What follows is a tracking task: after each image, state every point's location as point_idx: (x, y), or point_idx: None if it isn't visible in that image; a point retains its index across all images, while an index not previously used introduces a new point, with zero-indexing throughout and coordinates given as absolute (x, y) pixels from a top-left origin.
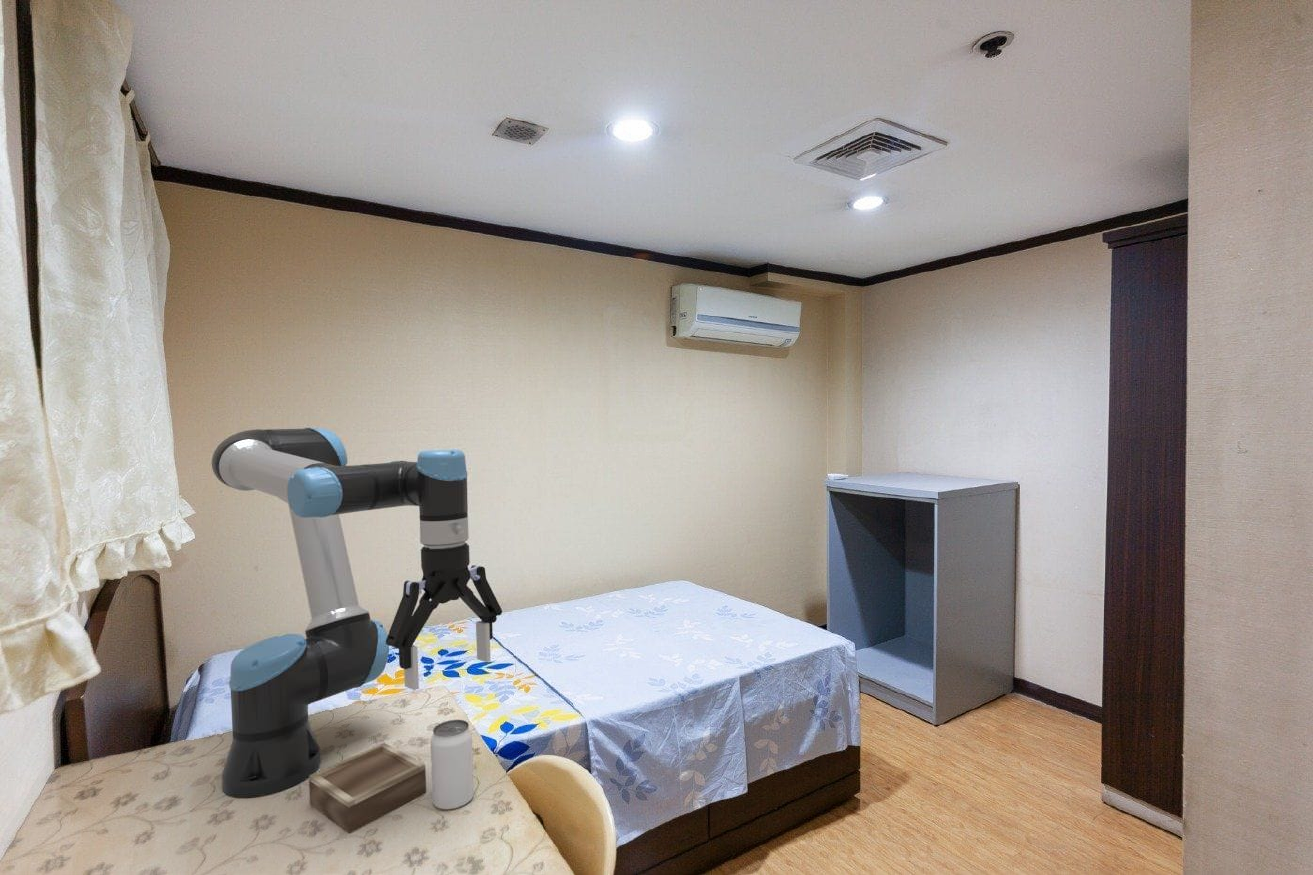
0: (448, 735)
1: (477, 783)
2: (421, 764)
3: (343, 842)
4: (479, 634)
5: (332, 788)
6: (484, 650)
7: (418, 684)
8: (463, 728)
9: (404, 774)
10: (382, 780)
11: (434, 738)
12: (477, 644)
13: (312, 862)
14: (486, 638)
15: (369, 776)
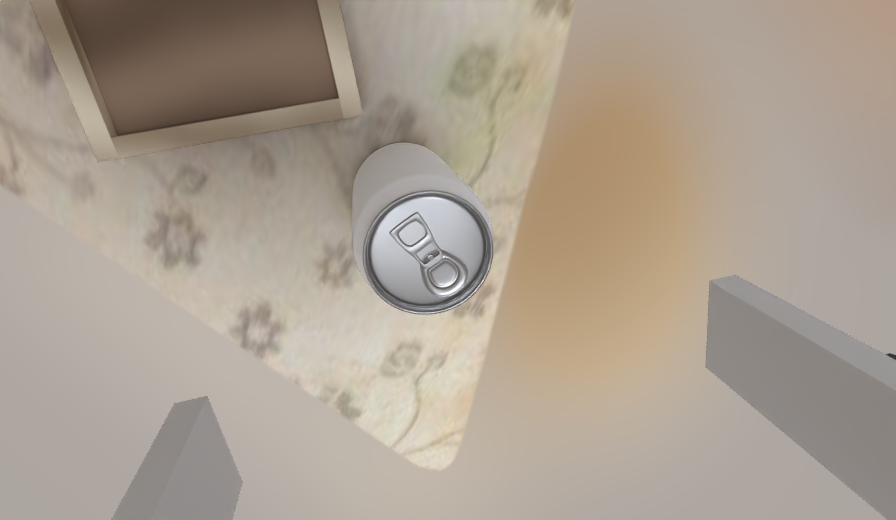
0: (395, 307)
1: (480, 166)
2: (353, 106)
3: (118, 174)
4: (864, 416)
5: (52, 28)
6: (757, 389)
7: (235, 502)
8: (464, 275)
9: (289, 126)
10: (229, 77)
11: (361, 252)
12: (787, 338)
13: (37, 201)
14: (836, 471)
15: (196, 14)
